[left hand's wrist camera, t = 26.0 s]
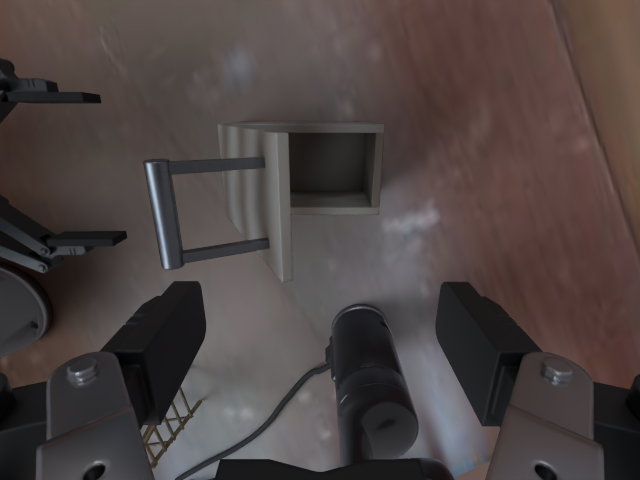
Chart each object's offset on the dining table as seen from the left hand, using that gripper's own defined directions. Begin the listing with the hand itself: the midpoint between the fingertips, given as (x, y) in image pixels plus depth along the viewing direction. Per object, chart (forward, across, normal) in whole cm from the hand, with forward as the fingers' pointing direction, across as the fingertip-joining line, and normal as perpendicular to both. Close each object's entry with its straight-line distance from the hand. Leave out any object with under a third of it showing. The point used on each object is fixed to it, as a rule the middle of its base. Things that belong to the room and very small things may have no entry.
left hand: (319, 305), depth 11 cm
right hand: (+24, +21, 0) cm, 32 cm away
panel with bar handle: (+20, +6, 0) cm, 21 cm away
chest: (+38, +2, 0) cm, 38 cm away
